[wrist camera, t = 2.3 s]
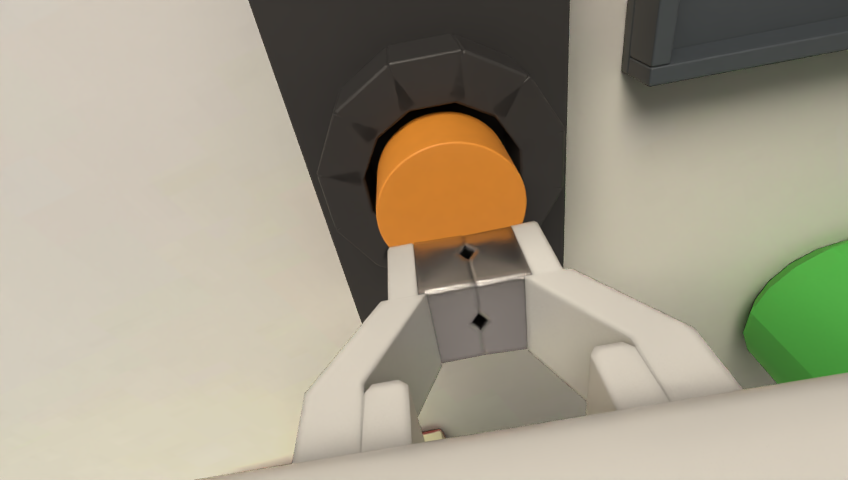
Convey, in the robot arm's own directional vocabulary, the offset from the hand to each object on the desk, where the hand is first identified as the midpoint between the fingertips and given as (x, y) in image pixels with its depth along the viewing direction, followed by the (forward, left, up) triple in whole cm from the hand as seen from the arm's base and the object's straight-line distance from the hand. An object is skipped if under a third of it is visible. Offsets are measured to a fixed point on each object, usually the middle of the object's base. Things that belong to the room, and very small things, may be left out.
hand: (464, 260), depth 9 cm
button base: (0, 0, -8) cm, 8 cm away
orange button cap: (0, 0, -4) cm, 4 cm away
